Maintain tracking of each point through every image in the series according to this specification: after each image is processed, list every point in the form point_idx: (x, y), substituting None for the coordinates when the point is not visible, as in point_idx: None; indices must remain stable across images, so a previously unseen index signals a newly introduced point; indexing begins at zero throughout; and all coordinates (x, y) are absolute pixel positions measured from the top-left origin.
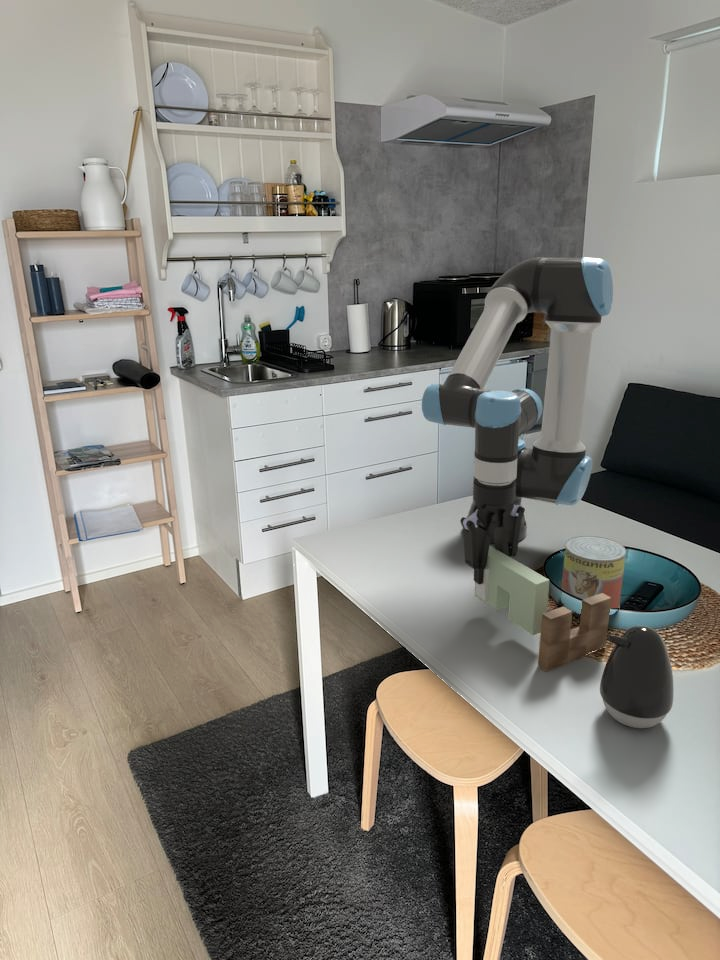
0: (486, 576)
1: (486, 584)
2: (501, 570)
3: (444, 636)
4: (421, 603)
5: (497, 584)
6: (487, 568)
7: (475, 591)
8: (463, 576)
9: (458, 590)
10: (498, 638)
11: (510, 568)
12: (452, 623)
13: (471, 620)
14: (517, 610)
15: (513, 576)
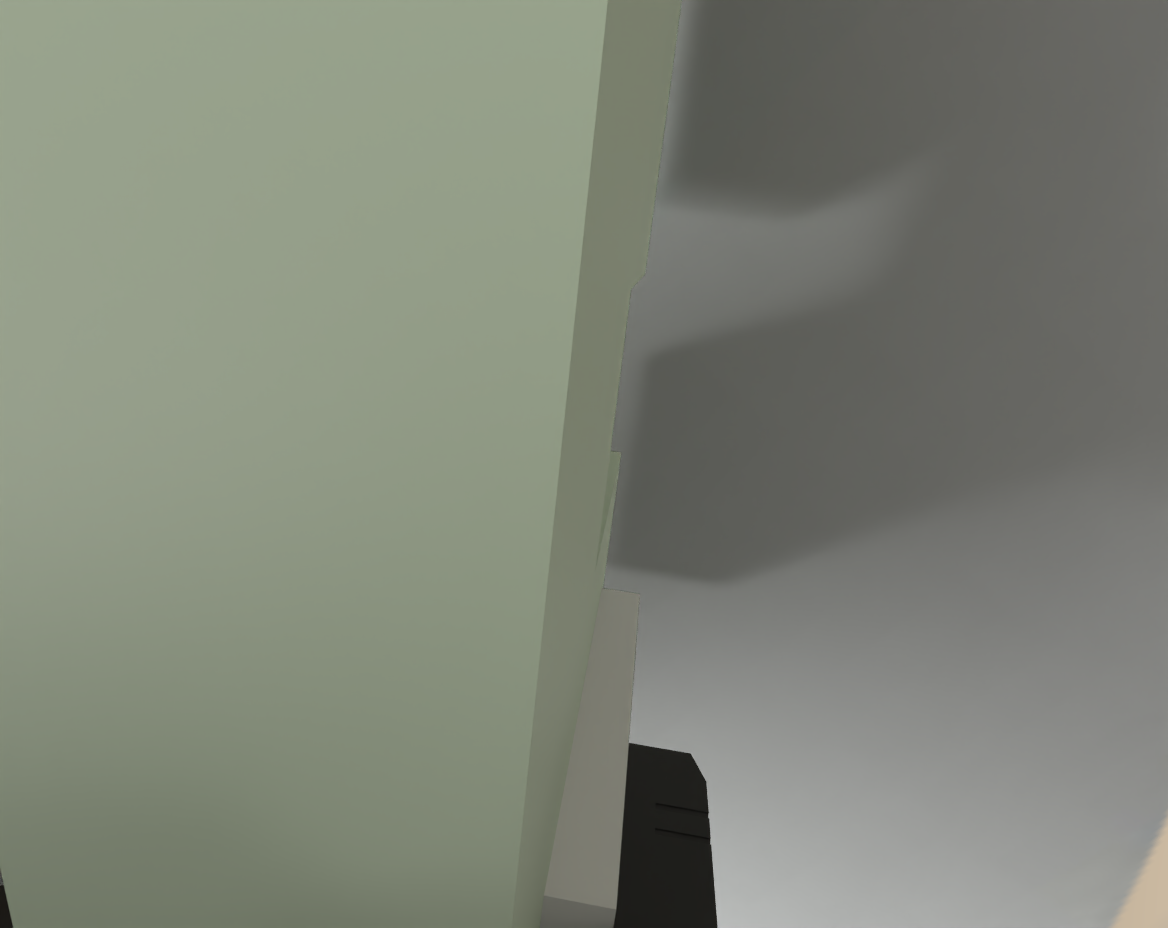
0: (611, 794)
1: (616, 702)
2: (561, 687)
3: (1043, 550)
4: (797, 891)
5: (592, 580)
6: (560, 916)
7: None
8: None
9: None
10: (750, 274)
11: (522, 440)
12: (845, 626)
13: (707, 570)
14: (662, 106)
15: (617, 184)
